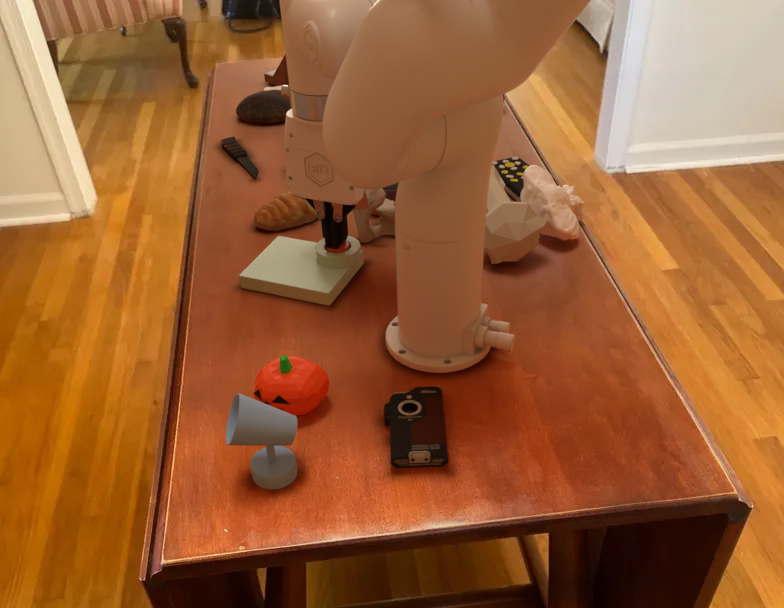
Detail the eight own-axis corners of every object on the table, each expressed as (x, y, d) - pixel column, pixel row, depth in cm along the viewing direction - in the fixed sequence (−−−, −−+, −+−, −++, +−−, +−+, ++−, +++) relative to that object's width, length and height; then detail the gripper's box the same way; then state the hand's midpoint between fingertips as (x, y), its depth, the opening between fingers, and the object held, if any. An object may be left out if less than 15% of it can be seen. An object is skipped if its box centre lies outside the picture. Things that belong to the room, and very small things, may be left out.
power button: (353, 251, 102) (352, 240, 101) (344, 262, 100) (343, 251, 99) (333, 247, 103) (332, 237, 102) (323, 258, 101) (322, 248, 100)
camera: (382, 455, 73) (382, 384, 82) (385, 475, 75) (385, 404, 83) (447, 449, 73) (441, 378, 81) (449, 469, 75) (442, 398, 83)
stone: (305, 82, 142) (310, 110, 145) (258, 84, 147) (264, 111, 150) (270, 97, 134) (276, 127, 137) (223, 98, 139) (229, 127, 142)
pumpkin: (332, 423, 81) (327, 375, 76) (257, 429, 80) (247, 382, 76) (330, 380, 86) (325, 333, 81) (259, 386, 86) (250, 339, 81)
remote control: (521, 207, 114) (522, 195, 112) (483, 173, 122) (483, 161, 121) (557, 199, 115) (559, 186, 114) (517, 165, 124) (518, 153, 122)
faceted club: (474, 271, 99) (443, 193, 118) (535, 282, 101) (495, 203, 120) (496, 208, 94) (460, 136, 112) (559, 220, 96) (513, 148, 114)
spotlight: (236, 496, 74) (307, 486, 74) (216, 420, 67) (294, 409, 67) (235, 460, 77) (303, 451, 78) (216, 384, 70) (291, 375, 71)
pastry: (269, 239, 109) (265, 215, 107) (245, 223, 113) (241, 199, 111) (323, 218, 113) (320, 194, 111) (298, 203, 117) (295, 179, 115)
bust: (541, 250, 102) (558, 264, 112) (591, 216, 99) (604, 234, 109) (498, 177, 104) (519, 197, 114) (546, 142, 101) (563, 166, 111)
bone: (412, 206, 112) (410, 165, 102) (418, 245, 110) (416, 207, 100) (355, 213, 112) (347, 173, 102) (359, 252, 110) (352, 215, 101)
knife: (269, 171, 124) (252, 175, 123) (270, 176, 124) (253, 181, 123) (233, 135, 134) (217, 138, 133) (234, 140, 135) (218, 144, 134)
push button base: (368, 262, 104) (367, 238, 102) (333, 306, 96) (330, 282, 94) (281, 246, 108) (278, 223, 105) (240, 287, 100) (236, 264, 98)
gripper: (251, 105, 87) (272, 247, 100) (370, 121, 83) (377, 267, 96) (281, 82, 92) (298, 221, 105) (395, 96, 88) (399, 239, 101)
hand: (336, 243), depth 101 cm, fingers closed
